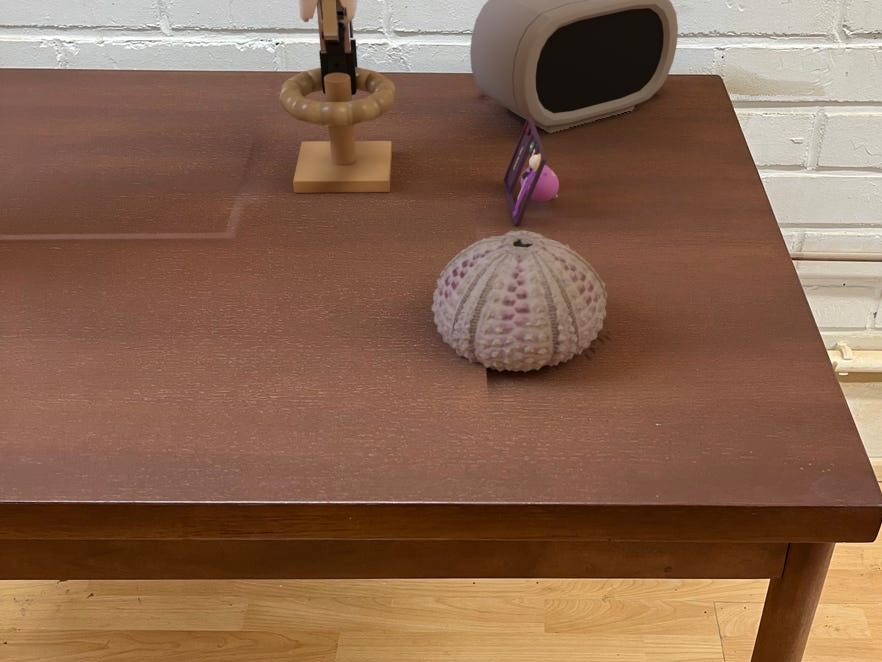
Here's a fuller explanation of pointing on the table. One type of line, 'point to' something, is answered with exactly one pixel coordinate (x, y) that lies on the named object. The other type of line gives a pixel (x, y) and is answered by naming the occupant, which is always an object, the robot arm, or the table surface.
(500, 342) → the sea urchin shell
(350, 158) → the stand
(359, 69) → the ring
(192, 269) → the table surface
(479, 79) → the alarm clock
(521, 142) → the purple toy package
